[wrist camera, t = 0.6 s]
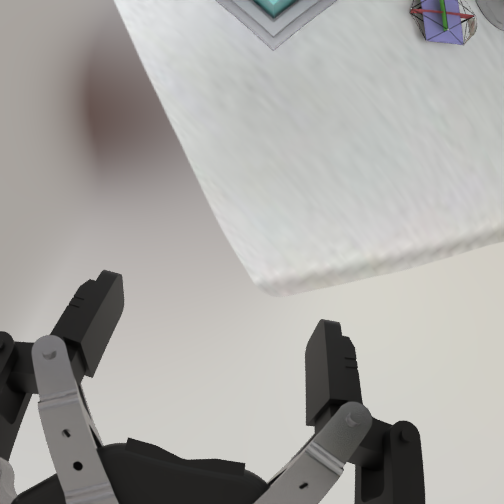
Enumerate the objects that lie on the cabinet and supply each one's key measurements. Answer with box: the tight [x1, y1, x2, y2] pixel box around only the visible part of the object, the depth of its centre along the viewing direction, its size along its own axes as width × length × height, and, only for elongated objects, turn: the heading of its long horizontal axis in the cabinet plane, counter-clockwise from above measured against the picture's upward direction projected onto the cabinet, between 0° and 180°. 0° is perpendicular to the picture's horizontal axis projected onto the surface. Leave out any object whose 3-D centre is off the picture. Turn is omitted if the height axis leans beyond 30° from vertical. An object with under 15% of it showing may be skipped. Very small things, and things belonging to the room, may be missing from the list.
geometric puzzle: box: [409, 0, 477, 46], centre depth 21 cm, size 7×7×8 cm
